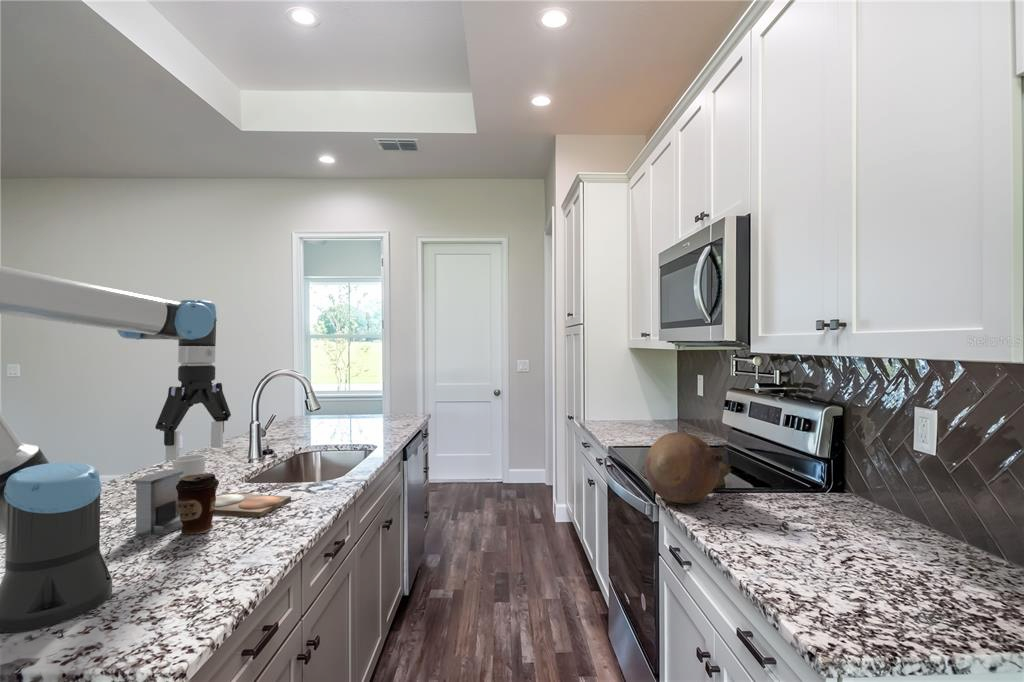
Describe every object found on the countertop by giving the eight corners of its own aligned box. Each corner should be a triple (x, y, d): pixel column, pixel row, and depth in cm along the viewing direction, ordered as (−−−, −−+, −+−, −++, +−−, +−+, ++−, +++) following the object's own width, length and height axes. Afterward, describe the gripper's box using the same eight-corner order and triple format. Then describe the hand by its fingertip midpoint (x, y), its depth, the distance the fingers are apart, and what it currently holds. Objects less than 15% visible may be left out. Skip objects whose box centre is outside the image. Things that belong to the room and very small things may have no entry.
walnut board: (260, 516, 123) (260, 511, 123) (188, 512, 126) (188, 507, 126) (291, 500, 136) (291, 495, 136) (224, 497, 139) (224, 491, 139)
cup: (211, 498, 138) (211, 456, 138) (180, 506, 132) (180, 462, 132) (197, 493, 143) (197, 453, 143) (167, 501, 136) (167, 458, 136)
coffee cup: (196, 539, 109) (196, 482, 109) (165, 536, 111) (166, 480, 111) (226, 525, 118) (226, 472, 118) (197, 522, 119) (197, 470, 119)
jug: (678, 518, 122) (742, 515, 138) (699, 445, 120) (762, 451, 137) (621, 483, 139) (685, 484, 155) (640, 419, 137) (702, 426, 154)
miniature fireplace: (160, 536, 111) (160, 481, 111) (132, 534, 112) (132, 480, 112) (191, 522, 120) (191, 471, 120) (165, 520, 121) (165, 470, 121)
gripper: (167, 366, 102) (165, 466, 102) (246, 363, 127) (245, 443, 127) (136, 366, 103) (134, 465, 103) (220, 363, 128) (219, 442, 128)
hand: (195, 453), depth 115 cm, fingers open, 13 cm apart
